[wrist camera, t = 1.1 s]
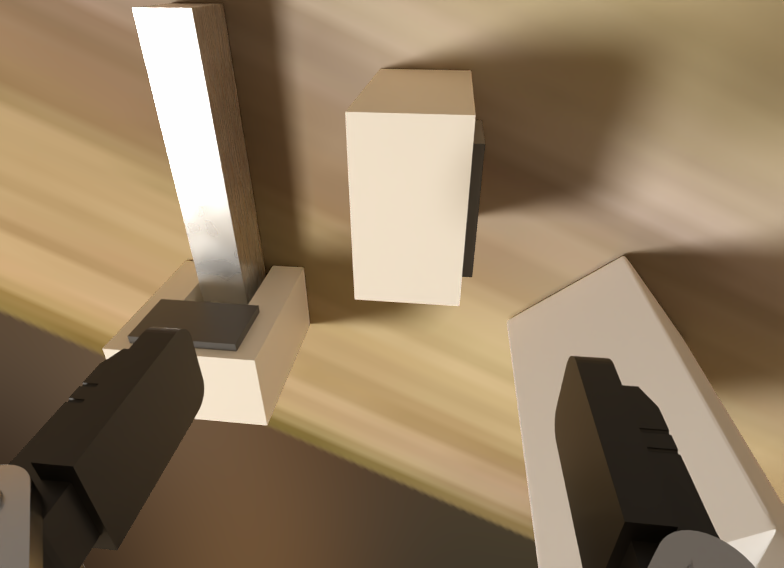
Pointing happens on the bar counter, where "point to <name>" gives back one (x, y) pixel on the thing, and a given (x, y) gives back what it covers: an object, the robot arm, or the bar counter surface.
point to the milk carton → (660, 383)
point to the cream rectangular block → (414, 185)
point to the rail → (204, 143)
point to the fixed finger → (231, 339)
